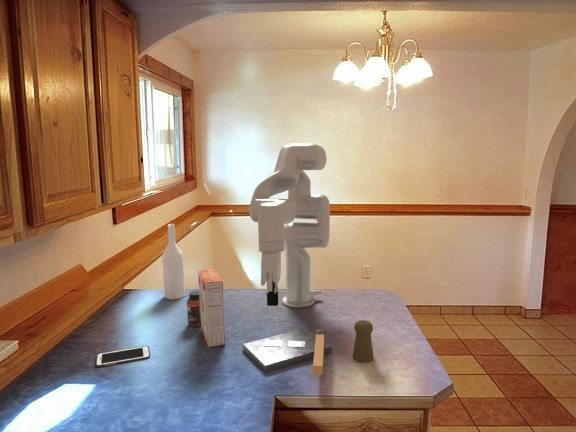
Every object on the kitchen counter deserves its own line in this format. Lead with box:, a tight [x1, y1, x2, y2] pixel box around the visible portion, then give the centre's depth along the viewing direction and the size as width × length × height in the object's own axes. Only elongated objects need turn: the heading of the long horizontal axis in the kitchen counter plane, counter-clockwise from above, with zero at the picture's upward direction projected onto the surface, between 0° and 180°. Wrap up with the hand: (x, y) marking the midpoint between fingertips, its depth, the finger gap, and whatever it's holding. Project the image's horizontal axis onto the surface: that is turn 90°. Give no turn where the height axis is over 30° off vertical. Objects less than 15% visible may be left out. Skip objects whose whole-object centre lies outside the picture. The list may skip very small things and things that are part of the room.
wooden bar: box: [312, 328, 327, 376], centre depth 119 cm, size 22×3×3 cm, turn 174°
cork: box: [352, 319, 375, 364], centre depth 124 cm, size 6×6×11 cm
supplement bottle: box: [186, 290, 201, 328], centre depth 149 cm, size 6×6×11 cm
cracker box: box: [197, 268, 226, 348], centre depth 137 cm, size 14×6×21 cm, turn 19°
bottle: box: [162, 223, 186, 300], centre depth 175 cm, size 8×8×30 cm
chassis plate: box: [242, 328, 333, 373], centre depth 129 cm, size 22×15×4 cm
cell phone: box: [95, 345, 151, 368], centre depth 127 cm, size 8×15×1 cm, turn 111°
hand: (272, 304), depth 129 cm, fingers closed
